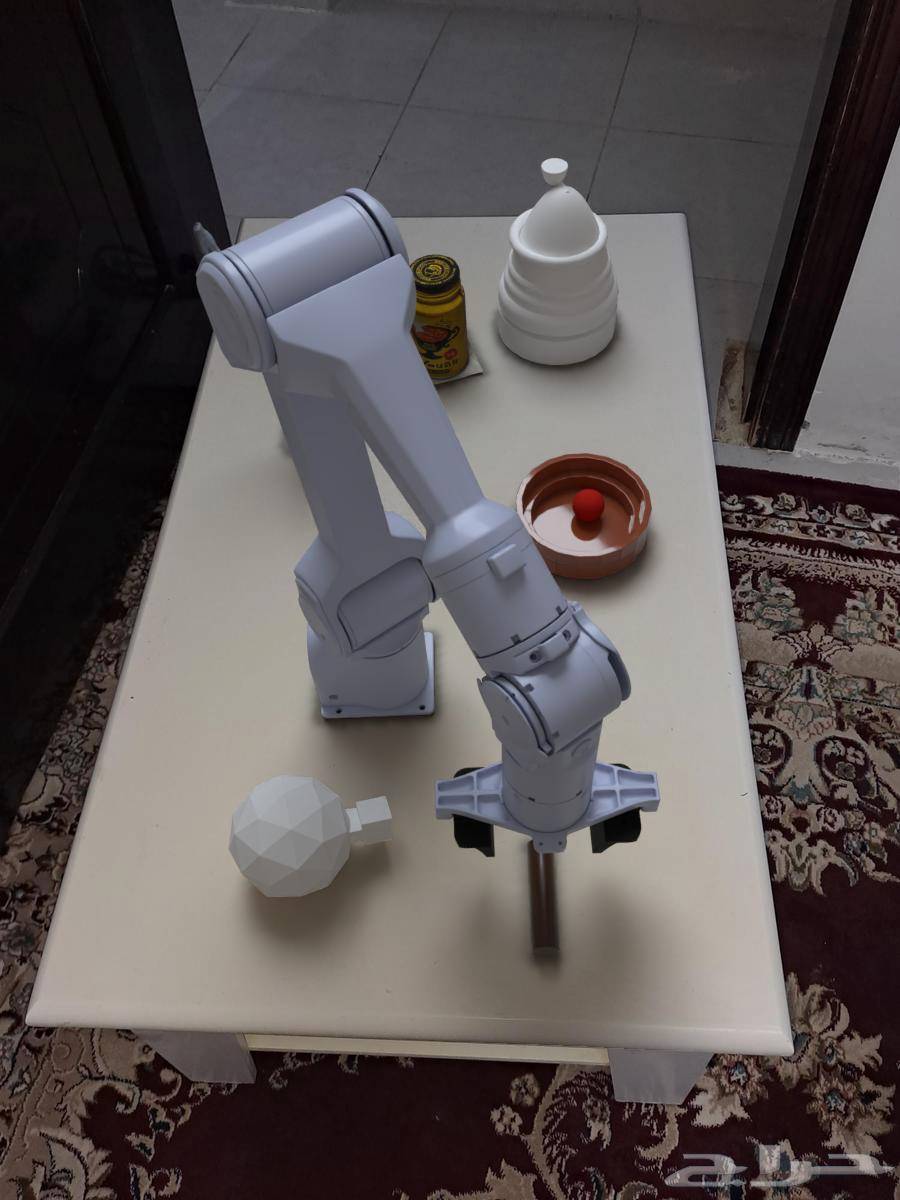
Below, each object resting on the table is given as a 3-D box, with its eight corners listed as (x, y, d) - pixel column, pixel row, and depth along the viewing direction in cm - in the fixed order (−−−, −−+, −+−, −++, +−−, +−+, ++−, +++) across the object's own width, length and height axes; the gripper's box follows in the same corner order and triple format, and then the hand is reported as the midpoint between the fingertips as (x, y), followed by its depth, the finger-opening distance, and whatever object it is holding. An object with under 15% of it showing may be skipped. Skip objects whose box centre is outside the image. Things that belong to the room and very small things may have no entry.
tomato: (569, 522, 94) (587, 528, 91) (563, 492, 93) (581, 498, 90) (595, 511, 95) (613, 517, 92) (589, 482, 94) (608, 487, 91)
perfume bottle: (242, 936, 72) (404, 899, 74) (224, 853, 66) (399, 816, 69) (231, 845, 78) (380, 813, 81) (214, 763, 73) (374, 732, 76)
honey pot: (479, 307, 112) (475, 159, 98) (581, 275, 115) (592, 126, 100) (528, 379, 105) (531, 231, 91) (636, 343, 108) (656, 193, 93)
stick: (529, 848, 76) (534, 955, 72) (525, 839, 75) (530, 947, 70) (555, 846, 76) (562, 953, 72) (551, 837, 74) (557, 945, 70)
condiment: (418, 390, 105) (408, 297, 95) (397, 339, 110) (386, 246, 100) (483, 373, 106) (480, 280, 96) (459, 323, 111) (454, 230, 101)
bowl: (519, 585, 90) (520, 559, 87) (512, 484, 97) (512, 456, 94) (654, 579, 90) (660, 553, 87) (637, 478, 97) (642, 450, 94)
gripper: (430, 827, 59) (443, 900, 70) (677, 818, 58) (650, 893, 69) (429, 721, 63) (442, 806, 74) (660, 711, 62) (637, 798, 73)
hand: (542, 841), depth 72 cm, fingers open, 7 cm apart
